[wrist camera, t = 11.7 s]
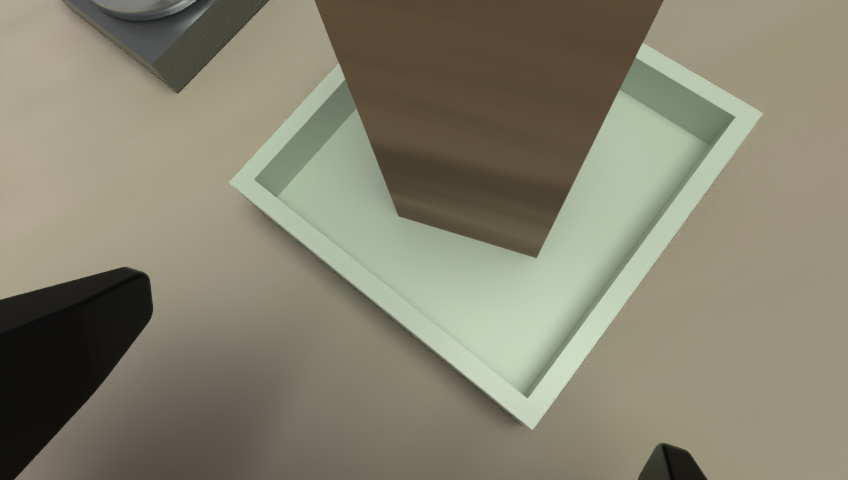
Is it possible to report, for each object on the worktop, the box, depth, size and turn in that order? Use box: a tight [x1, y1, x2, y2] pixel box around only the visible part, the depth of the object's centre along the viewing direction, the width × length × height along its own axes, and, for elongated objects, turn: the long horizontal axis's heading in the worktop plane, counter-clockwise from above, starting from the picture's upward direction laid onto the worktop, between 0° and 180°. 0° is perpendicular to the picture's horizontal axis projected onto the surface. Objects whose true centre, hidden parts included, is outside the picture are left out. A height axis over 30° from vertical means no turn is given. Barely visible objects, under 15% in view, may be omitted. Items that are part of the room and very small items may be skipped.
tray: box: [229, 43, 763, 430], centre depth 19 cm, size 12×12×3 cm
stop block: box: [315, 0, 663, 258], centre depth 14 cm, size 5×5×13 cm
